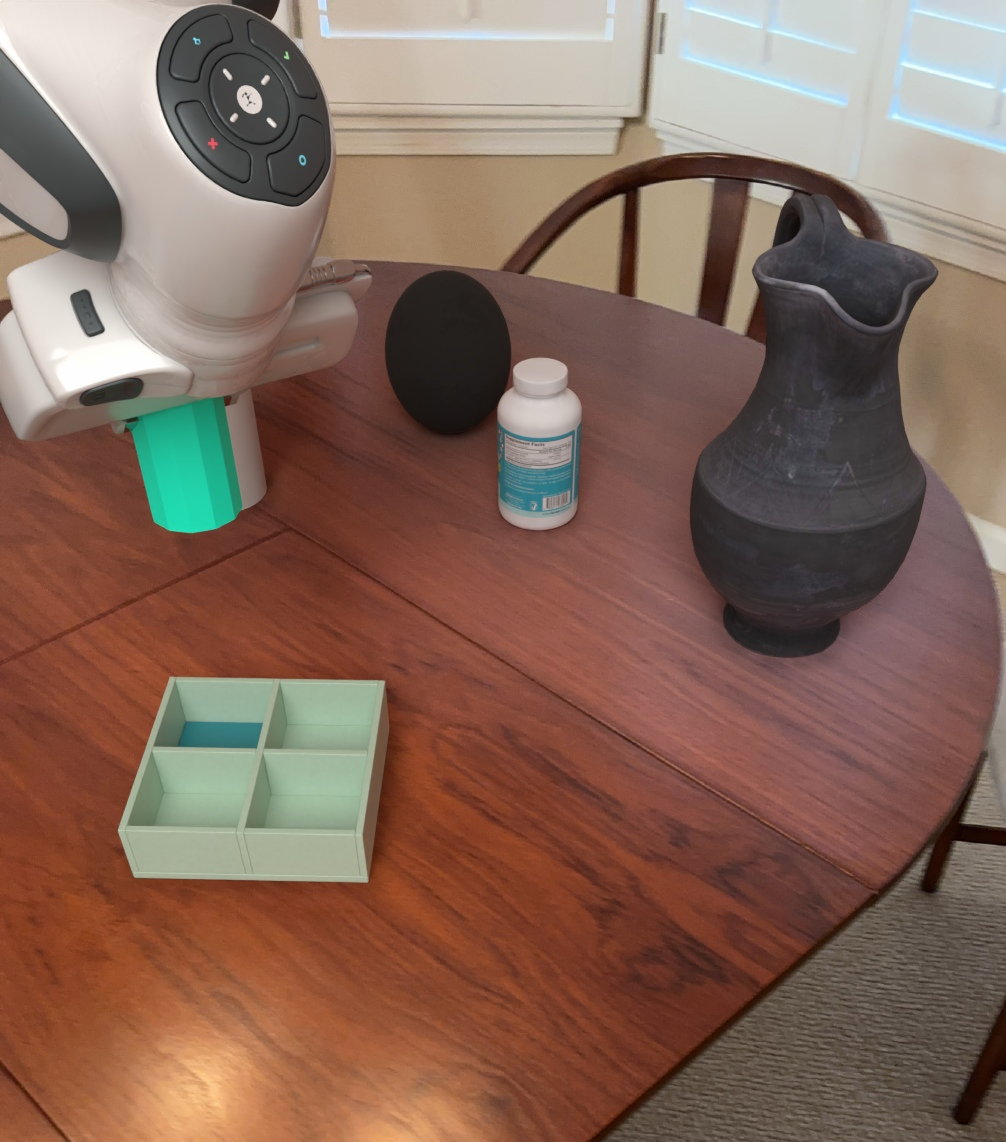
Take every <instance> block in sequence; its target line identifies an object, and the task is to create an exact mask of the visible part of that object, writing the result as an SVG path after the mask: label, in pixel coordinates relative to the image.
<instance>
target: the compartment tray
mask: <svg viewBox="0 0 1006 1142" xmlns="http://www.w3.org/2000/svg"><path fill="white" fill-rule="evenodd" d="M387 695H388V694H387V683H386V680H383V679H382V680H381V679H380V680H378V679H375V680H374V679H325V678H324V679H323V678H322V679H321V678H271V677H269V678H268V677H267V678H266V677H265V678H263V677H212V676H211V677H208V676H207V677H206V676H203V677H202V676H169V679H168V682H167V684H166V687H165V690H164V693H163V696H162V699H161V702H160V705H159V708H158V710H157V714H156V716H155V720H154V722H153V725H152V729H151V732H150V734H149V736H148V740H147V742H146V746H145V749H144V752H143V755H142V758H141V761H140V764H139V767H138V769H137V772H136V774H135V775H136V776H135V777H134V778H135V779H134V782H133V784H132V787H131V790H130V793H129V796H128V799H127V802H126V805H125V808H124V810H123V813H122V816H121V820H120V822H119V825H118V828H117V833H118V836H119V838H120V842H121V844H122V848H123V850H124V853H125V856H126V859H127V862H128V865H129V867H130V868H129V869H130V871H131V873H132V876H133V878H134V879H164V880H165V879H166V880H167V879H169V880H170V879H171V880H172V879H173V880H214V881H215V880H217V881H218V880H219V881H220V880H221V881H225V880H227V881H266V882H269V881H270V882H271V881H273V882H314V883H315V882H316V883H318V882H320V883H366V884H367V883H369V881H370V875H371V874H370V873H371V866H372V860H373V851H374V845H375V844H374V843H375V838H376V831H377V822H378V815H379V809H380V800H381V793H382V786H383V779H384V773H385V764H386V758H387V750H388V743H389V735H390V718H389V708H388V707H389V705H388V696H387Z"/></svg>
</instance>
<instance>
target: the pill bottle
mask: <svg viewBox="0 0 1006 1142" xmlns="http://www.w3.org/2000/svg"><path fill="white" fill-rule="evenodd" d="M512 369H513V370H512V387H511V388H509V389H508V390H506V391H505V392H504V394H503V396H502V398H501V399H500V401H499V403H498V405H497V409H496V412H497V413H496V414H497V416H496V417H497V502H498V503H497V506H498V510H499V512H500V515H501V516H502V518H503V519H504V520H505V521H506V522H507V523H509V524H511V525H513V526H515V527H517V528H520V529H522V530H523V529H524V530H528V531H547V530H554V529H556V528H560V527H562V526H564V525H566V524H568V522H570V521H571V520H572V519H573V518H574V516H575V515H576V513H577V510H578V503H579V487H580V485H579V484H580V464H581V463H580V460H581V441H582V440H581V439H582V420H583V418H582V417H583V408H582V403H581V400H580V399H579V396H578V395H577V394H576V393H575V392H574V391H573V390H571V389H570V388H569V387H567V386H568V385H569V370H568V366H567V365H566V364H564V363H563V361H560V360H557V359H555V358H549V357H531V358H527V359H524V360H521V361H518V362H517V363H516V364H515V365H514V366H513V368H512Z"/></svg>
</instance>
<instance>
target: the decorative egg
mask: <svg viewBox="0 0 1006 1142" xmlns="http://www.w3.org/2000/svg"><path fill="white" fill-rule="evenodd" d="M384 358H385V359H384V360H385V367H386V372H387V376H388V379H389V382H390V386H391V388H392V390H393V393H394V395H395V396H396V398H397V401H398V402H399V403H400V406H402V408H403V409H404V411H405V412H406V413H407V414H408V415H409V416H410V417H411V418H412V419H413V420H414V421H416V422H417V423H418V424H420V425H421V426H423V427H424V428H426V429H429V430H431V431H434V432H437V433H440V434H441V433H442V434H460V433H464V432H466V431H467V432H468V431H470V430H471V429H474V428H475V427H477V426H479V425H480V424H481V423H483V422H484V421H485V420H486V419H487V418H489V417H490V415H491V414H493V412H494V411H495V409H496V408H498V404H499V401H500V399H501V398H502V396H503V395H504V394H505V392H506V388H507V385H508V383H509V379H510V374H511V367H512V342H511V336H510V331H509V327H508V323H507V320H506V318H505V314H504V313H503V310H502V308H501V306H500V305H499V303H498V301H497V300H496V298H495V297H494V296H493V294H492V293H491V292H490V291H489V289H488V288H486V286H485V285H483V283H481V282H480V281H478V280H477V279H476V278H475V277H472V276H470V275H469V274H466V273H463V272H461V271H456V270H450V269H449V270H447V269H442V270H436V271H433V272H432V271H431V272H429V273H426V274H424V275H422V276H420V277H419V278H417V279H415V280H414V281H413V282H412V283H411V284H409V285H408V286H407V287H406V288H405V290H404V291H403V292H402V293H401V295H400V296H399V297H398V299H397V301H396V302H395V304H394V307H393V308H392V311H391V313H390V316H389V319H388V322H387V326H386V331H385V339H384Z"/></svg>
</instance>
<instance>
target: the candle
mask: <svg viewBox="0 0 1006 1142" xmlns="http://www.w3.org/2000/svg"><path fill="white" fill-rule="evenodd" d="M137 417H138V419H139V422H138V423H137V425H136V426H135V428H134V429H133V431H131V435H132V439H133V443H134V448H135V452H136V455H137V459H138V464H139V467H140V472H141V475H142V480H143V484H144V488H145V492H146V497H147V500H148V505H149V509H150V513H151V516H152V520H153V523H155V524H156V525H158V526H160V527H162V528H164V529H166V530H167V531H168V532H178V533H186V534H194V533H201V532H207V531H213V530H217V529H219V528H221V527H223V526H225V525H227V524H229V523H231V522H232V521H235V520H236V518H237V517H238V515H239V514H240V512H241V511H242V510H241V509H242V508H243V504H242V499H241V493H240V488H239V482H238V476H237V471H236V465H235V460H234V454H233V448H232V443H231V437H230V432H229V426H228V421H227V415H226V409H225V404H224V398H223V397H216V398H207V399H203V400H199V401H195V402H192V403H188V404H184V405H180V406H176V407H172V408H168V409H164V410H160V411H157V412H153V413H149V414H145V415H141V416H137Z"/></svg>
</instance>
